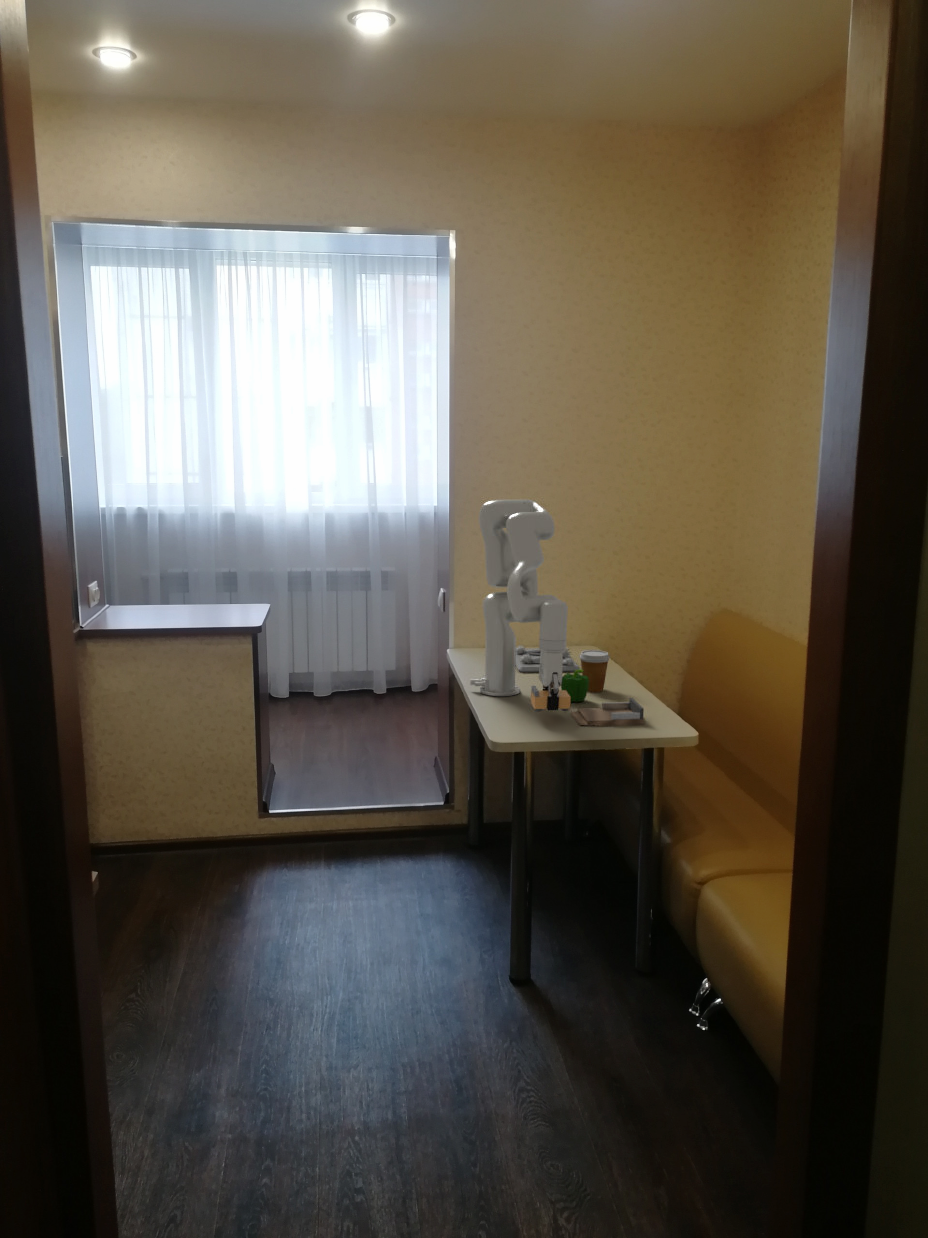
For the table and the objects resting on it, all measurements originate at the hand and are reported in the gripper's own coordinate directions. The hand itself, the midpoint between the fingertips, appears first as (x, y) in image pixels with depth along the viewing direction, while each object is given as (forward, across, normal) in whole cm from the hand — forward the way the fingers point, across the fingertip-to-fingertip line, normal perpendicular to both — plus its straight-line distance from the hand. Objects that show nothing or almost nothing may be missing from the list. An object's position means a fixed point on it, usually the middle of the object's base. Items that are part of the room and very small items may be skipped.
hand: (550, 705), depth 264 cm
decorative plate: (+7, -69, +11) cm, 70 cm away
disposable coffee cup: (+5, -31, +20) cm, 38 cm away
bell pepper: (+5, -19, +11) cm, 23 cm away
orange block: (+1, 0, 0) cm, 1 cm away
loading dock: (+4, +1, +16) cm, 17 cm away
